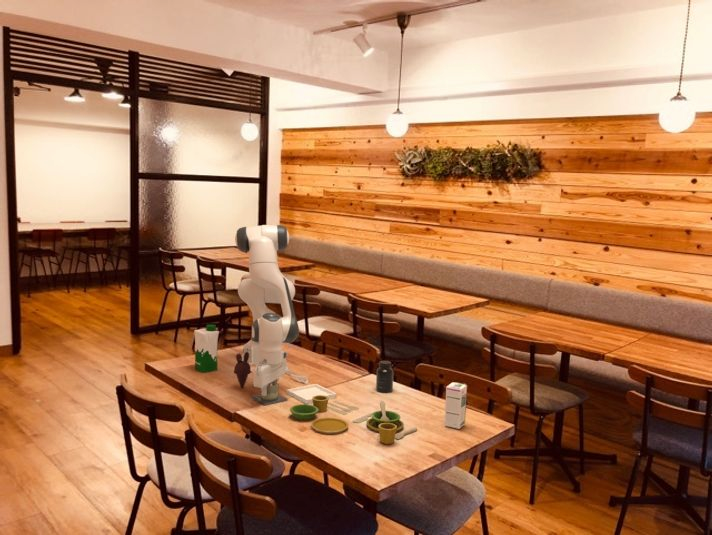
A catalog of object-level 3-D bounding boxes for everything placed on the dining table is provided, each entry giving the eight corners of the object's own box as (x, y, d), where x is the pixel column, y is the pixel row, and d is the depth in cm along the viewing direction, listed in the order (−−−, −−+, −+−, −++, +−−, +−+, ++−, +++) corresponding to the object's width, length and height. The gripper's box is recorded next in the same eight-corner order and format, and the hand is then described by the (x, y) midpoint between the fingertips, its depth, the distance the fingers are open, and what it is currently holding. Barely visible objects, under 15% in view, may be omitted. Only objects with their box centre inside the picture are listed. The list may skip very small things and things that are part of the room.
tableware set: (422, 431, 207) (423, 413, 206) (371, 456, 186) (372, 436, 185) (334, 400, 233) (334, 384, 232) (280, 419, 212) (281, 401, 211)
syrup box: (459, 429, 208) (462, 388, 206) (443, 425, 211) (446, 385, 209) (465, 424, 213) (467, 384, 211) (449, 420, 216) (451, 381, 214)
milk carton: (220, 372, 260) (221, 326, 258) (201, 375, 254) (201, 329, 252) (210, 367, 267) (211, 322, 264) (191, 370, 261) (191, 325, 258)
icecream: (239, 393, 234) (240, 356, 233) (229, 388, 240) (230, 351, 238) (254, 389, 239) (255, 353, 237) (244, 385, 245) (244, 349, 243)
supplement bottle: (380, 386, 250) (382, 358, 249) (395, 390, 247) (396, 361, 245) (372, 391, 244) (374, 362, 243) (387, 394, 241) (389, 365, 239)
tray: (286, 394, 236) (286, 389, 236) (315, 388, 245) (316, 383, 245) (306, 404, 225) (306, 400, 225) (336, 398, 234) (336, 393, 234)
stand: (251, 398, 230) (251, 381, 229) (273, 393, 236) (274, 377, 235) (264, 406, 222) (264, 389, 221) (287, 401, 228) (288, 384, 228)
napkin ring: (258, 396, 229) (258, 383, 229) (272, 393, 233) (272, 380, 233) (266, 400, 225) (266, 387, 224) (280, 397, 229) (280, 385, 228)
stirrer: (312, 385, 249) (312, 374, 248) (305, 387, 247) (305, 375, 246) (283, 373, 263) (284, 362, 263) (277, 374, 261) (277, 364, 260)
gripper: (265, 365, 216) (264, 402, 218) (289, 351, 235) (288, 385, 237) (249, 362, 218) (248, 399, 220) (274, 349, 237) (273, 383, 239)
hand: (269, 392), depth 229 cm, fingers closed on napkin ring, 6 cm apart
